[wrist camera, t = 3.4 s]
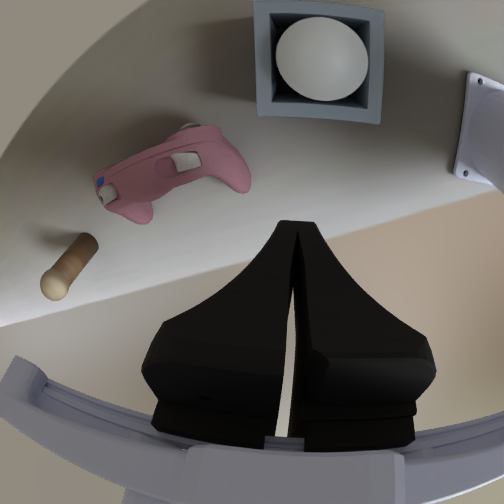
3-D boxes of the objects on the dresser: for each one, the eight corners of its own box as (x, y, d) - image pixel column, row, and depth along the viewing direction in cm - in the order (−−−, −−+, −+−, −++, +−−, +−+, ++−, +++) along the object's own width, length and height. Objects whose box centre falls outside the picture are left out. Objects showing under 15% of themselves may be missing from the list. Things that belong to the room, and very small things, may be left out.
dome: (353, 30, 11) (371, 21, 8) (351, 96, 14) (368, 106, 11) (278, 25, 12) (273, 13, 9) (280, 91, 14) (276, 100, 11)
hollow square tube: (363, 22, 12) (383, 10, 9) (361, 110, 16) (380, 124, 12) (262, 15, 13) (253, 0, 9) (265, 104, 16) (257, 116, 13)
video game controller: (243, 129, 19) (199, 100, 13) (260, 190, 20) (221, 188, 13) (134, 172, 22) (71, 170, 16) (146, 225, 23) (84, 237, 16)
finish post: (94, 231, 25) (49, 285, 19) (103, 255, 26) (63, 309, 20) (74, 230, 25) (29, 281, 19) (83, 253, 27) (43, 304, 21)
